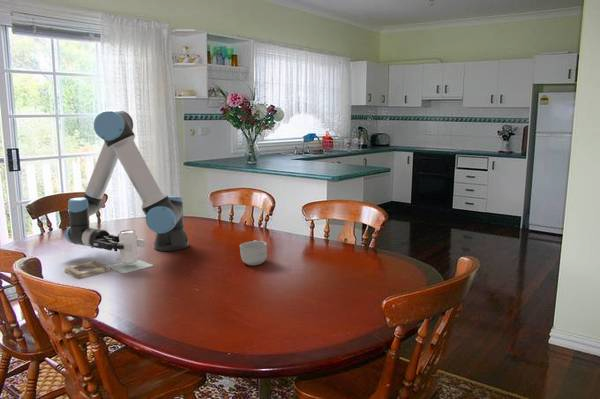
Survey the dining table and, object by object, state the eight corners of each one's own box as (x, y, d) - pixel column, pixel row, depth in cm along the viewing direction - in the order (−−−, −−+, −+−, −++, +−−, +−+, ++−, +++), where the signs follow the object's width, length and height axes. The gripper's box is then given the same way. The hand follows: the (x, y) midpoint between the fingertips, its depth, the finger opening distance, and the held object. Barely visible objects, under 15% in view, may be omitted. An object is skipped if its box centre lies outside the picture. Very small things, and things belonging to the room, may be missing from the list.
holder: (95, 264, 199) (95, 260, 199) (109, 270, 191) (109, 267, 191) (64, 271, 190) (64, 267, 190) (78, 278, 182) (77, 274, 182)
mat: (137, 259, 205) (136, 258, 205) (153, 266, 196) (153, 265, 196) (106, 266, 196) (106, 266, 196) (122, 274, 187) (122, 273, 187)
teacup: (263, 268, 193) (262, 248, 192) (236, 266, 195) (235, 246, 194) (272, 257, 207) (271, 239, 205) (247, 256, 209) (246, 237, 207)
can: (141, 260, 197) (139, 230, 195) (129, 264, 191) (127, 234, 189) (129, 258, 200) (127, 229, 198) (117, 262, 194) (115, 232, 192)
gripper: (116, 241, 212) (156, 249, 201) (76, 253, 195) (118, 261, 184) (114, 224, 211) (155, 231, 200) (75, 234, 194) (117, 242, 183)
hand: (137, 245), depth 192 cm, fingers closed on can, 6 cm apart
